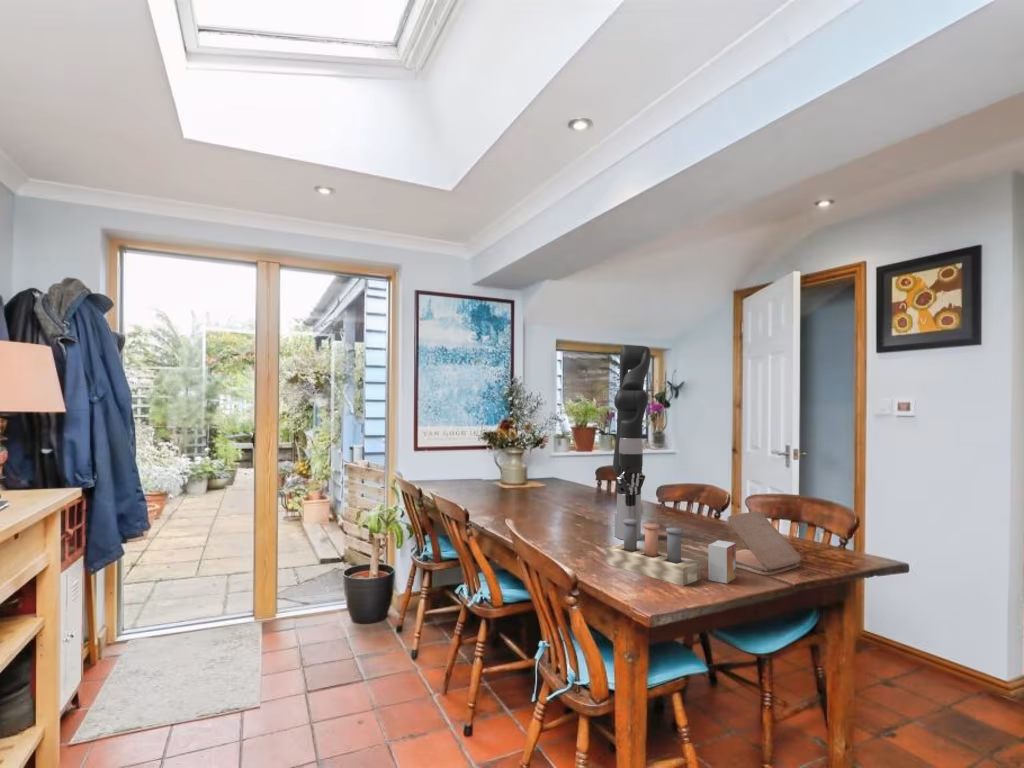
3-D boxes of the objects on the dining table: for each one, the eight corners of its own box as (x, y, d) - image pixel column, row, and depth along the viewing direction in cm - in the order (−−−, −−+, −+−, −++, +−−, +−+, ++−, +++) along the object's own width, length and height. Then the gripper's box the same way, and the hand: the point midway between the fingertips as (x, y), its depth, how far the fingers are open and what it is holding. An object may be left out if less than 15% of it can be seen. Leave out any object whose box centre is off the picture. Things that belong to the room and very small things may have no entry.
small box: (727, 584, 159) (726, 547, 160) (707, 580, 163) (707, 544, 163) (736, 578, 165) (736, 542, 166) (717, 574, 169) (717, 539, 169)
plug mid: (640, 556, 171) (641, 524, 172) (649, 553, 174) (649, 522, 175) (653, 559, 168) (653, 527, 168) (662, 556, 171) (662, 525, 171)
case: (767, 578, 166) (768, 524, 167) (708, 561, 184) (709, 512, 184) (804, 568, 177) (804, 518, 178) (745, 553, 195) (745, 507, 196)
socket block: (605, 563, 178) (605, 548, 178) (624, 558, 185) (624, 543, 185) (682, 586, 157) (682, 568, 157) (701, 579, 164) (701, 562, 164)
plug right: (663, 561, 165) (663, 529, 166) (671, 559, 168) (671, 526, 169) (676, 565, 162) (676, 531, 162) (685, 562, 165) (685, 529, 165)
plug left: (620, 550, 177) (620, 520, 178) (628, 548, 180) (628, 518, 181) (631, 553, 174) (632, 522, 174) (640, 551, 177) (640, 520, 177)
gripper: (633, 450, 186) (633, 502, 185) (608, 452, 177) (608, 506, 176) (652, 451, 180) (652, 505, 179) (627, 453, 171) (627, 510, 170)
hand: (630, 505), depth 178 cm, fingers closed
